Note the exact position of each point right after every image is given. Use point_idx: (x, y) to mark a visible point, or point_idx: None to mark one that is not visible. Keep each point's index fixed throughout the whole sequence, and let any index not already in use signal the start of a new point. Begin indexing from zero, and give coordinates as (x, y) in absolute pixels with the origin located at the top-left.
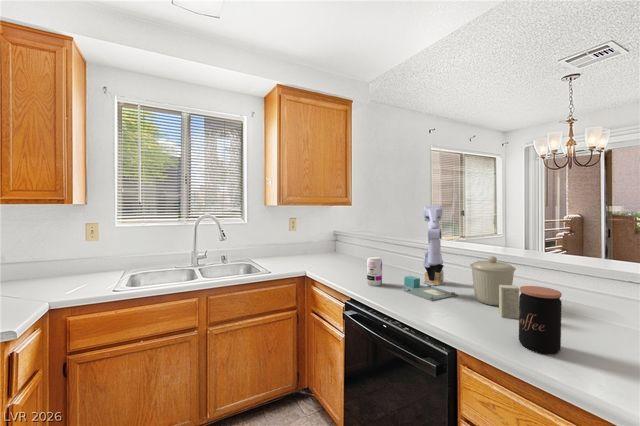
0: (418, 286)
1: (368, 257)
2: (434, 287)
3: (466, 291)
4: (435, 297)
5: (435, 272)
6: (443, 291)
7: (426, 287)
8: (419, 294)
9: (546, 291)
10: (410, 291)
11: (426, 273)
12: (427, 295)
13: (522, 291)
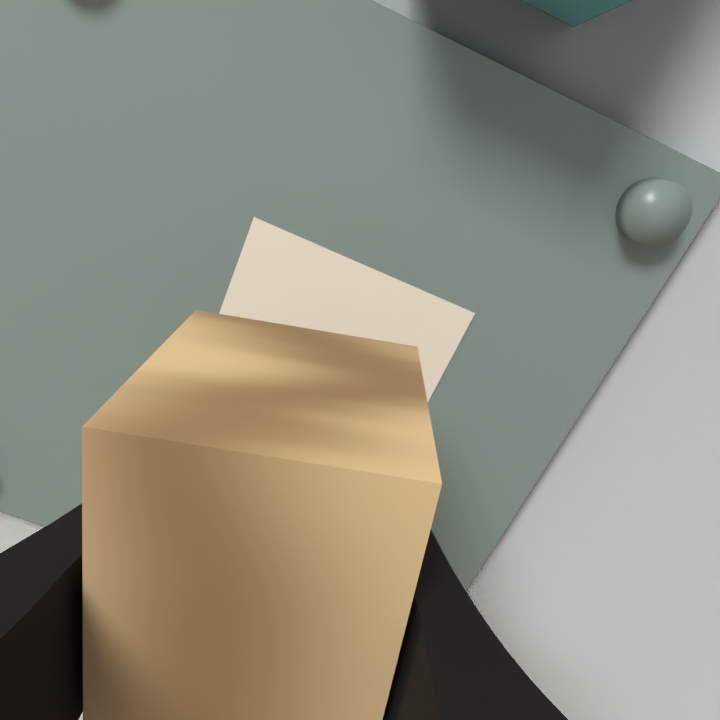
0: (542, 1)
1: None
2: (632, 311)
3: (696, 681)
4: (59, 488)
5: (381, 679)
6: (453, 492)
7: (552, 184)
8: (5, 249)
9: None
10: (44, 20)
11: (91, 478)
12: (57, 373)
13: None
